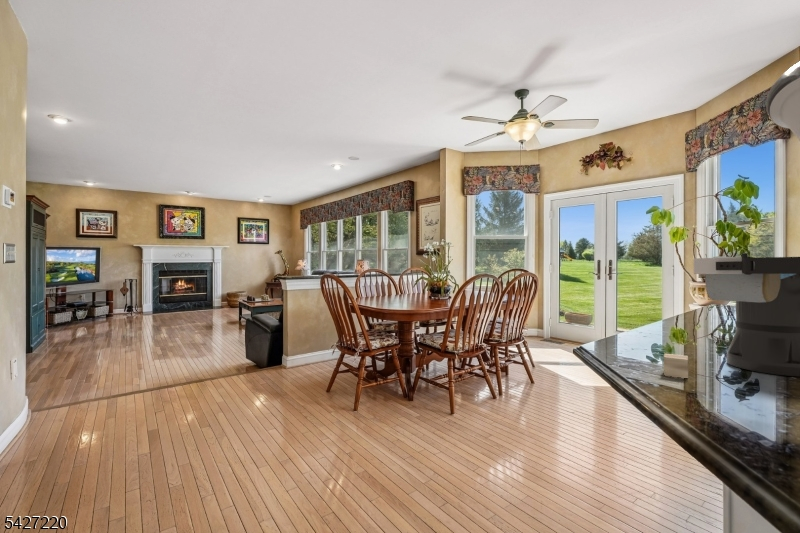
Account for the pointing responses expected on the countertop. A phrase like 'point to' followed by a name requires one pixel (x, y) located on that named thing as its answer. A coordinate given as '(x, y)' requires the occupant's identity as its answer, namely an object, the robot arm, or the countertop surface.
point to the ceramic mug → (742, 286)
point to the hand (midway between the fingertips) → (704, 266)
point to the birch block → (676, 365)
